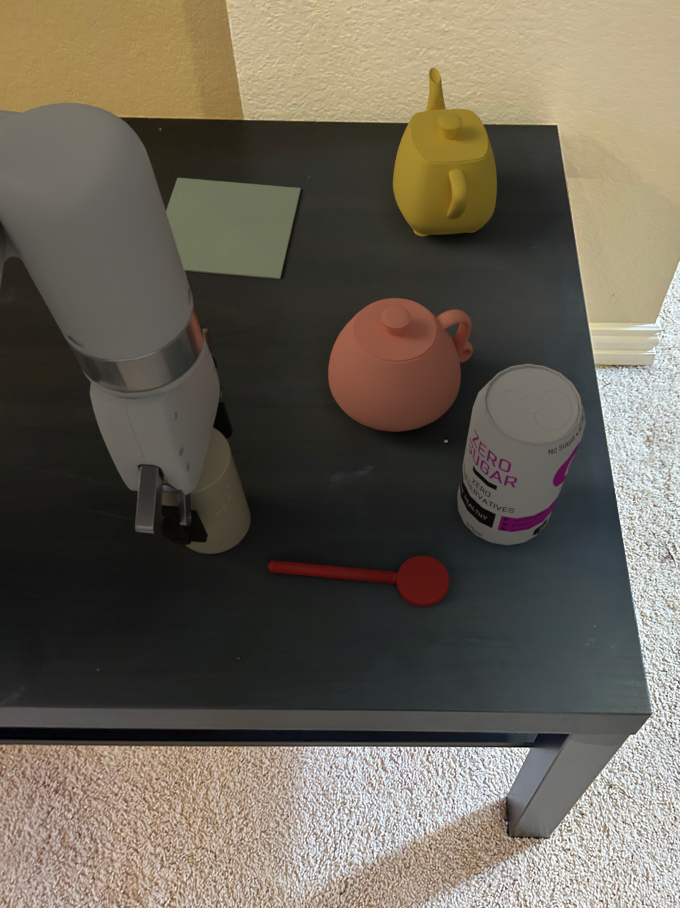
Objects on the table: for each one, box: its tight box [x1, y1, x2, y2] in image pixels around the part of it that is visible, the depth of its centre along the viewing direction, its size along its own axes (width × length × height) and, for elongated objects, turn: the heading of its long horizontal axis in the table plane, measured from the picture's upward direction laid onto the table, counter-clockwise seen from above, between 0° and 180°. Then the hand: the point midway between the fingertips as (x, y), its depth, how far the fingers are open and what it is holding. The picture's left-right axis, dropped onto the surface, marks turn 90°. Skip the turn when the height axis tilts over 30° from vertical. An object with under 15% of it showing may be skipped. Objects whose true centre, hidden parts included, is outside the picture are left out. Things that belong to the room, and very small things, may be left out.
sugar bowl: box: [327, 297, 474, 433], centre depth 68 cm, size 12×14×10 cm
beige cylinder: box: [162, 428, 252, 555], centre depth 61 cm, size 6×6×10 cm
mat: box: [165, 177, 302, 280], centre depth 82 cm, size 14×14×1 cm
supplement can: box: [456, 363, 587, 546], centre depth 60 cm, size 8×8×15 cm
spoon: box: [267, 555, 450, 608], centre depth 63 cm, size 15×4×1 cm, turn 85°
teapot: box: [392, 67, 498, 237], centre depth 79 cm, size 18×11×11 cm, turn 8°
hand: (201, 483), depth 60 cm, fingers open, 9 cm apart
